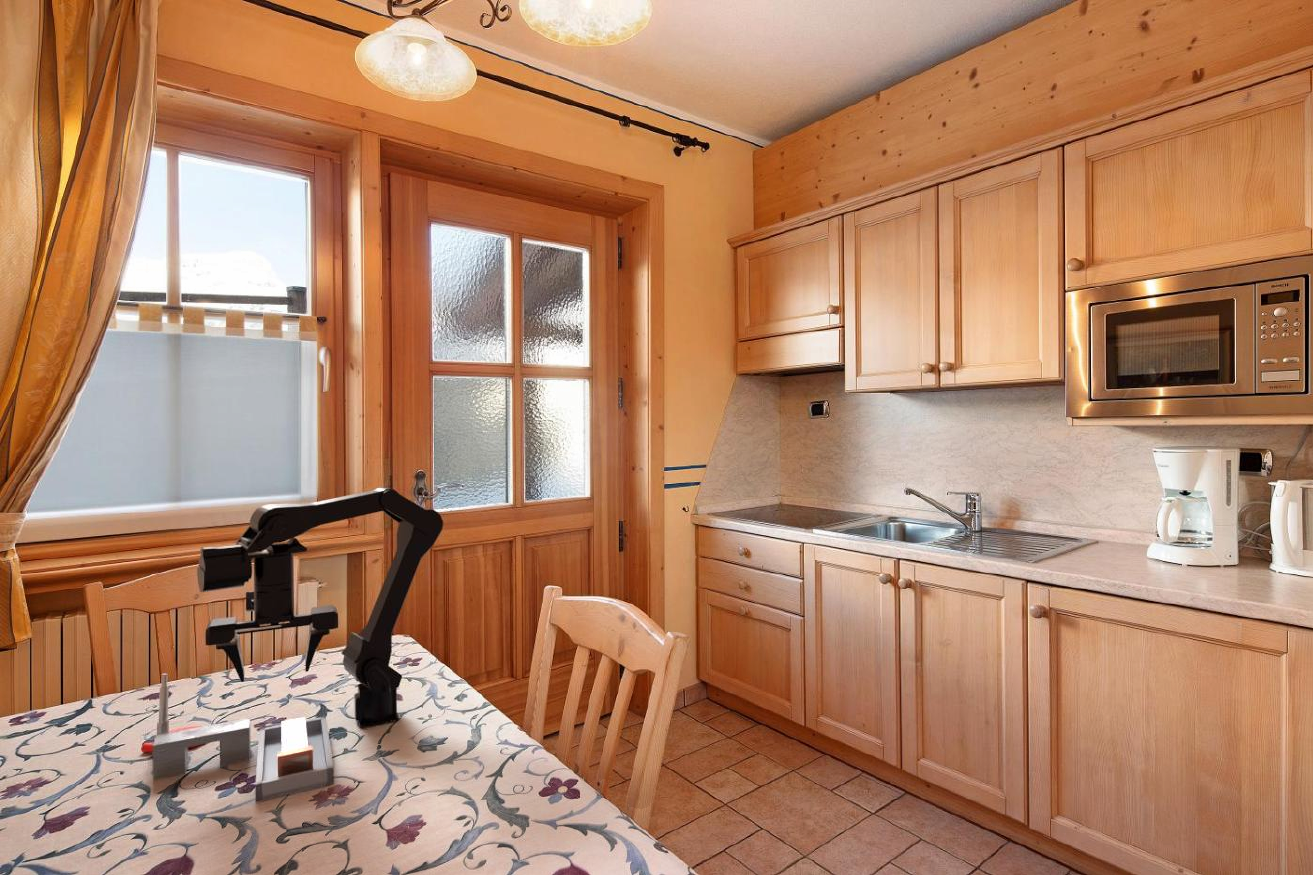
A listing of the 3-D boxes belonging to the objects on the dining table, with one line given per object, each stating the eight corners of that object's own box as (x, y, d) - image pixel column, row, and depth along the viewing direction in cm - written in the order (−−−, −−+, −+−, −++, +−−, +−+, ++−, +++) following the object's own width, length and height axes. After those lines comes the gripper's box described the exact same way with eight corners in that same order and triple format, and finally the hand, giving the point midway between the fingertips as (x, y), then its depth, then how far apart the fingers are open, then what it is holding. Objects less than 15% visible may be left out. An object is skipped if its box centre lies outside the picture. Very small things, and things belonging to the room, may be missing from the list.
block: (250, 749, 112) (250, 717, 112) (249, 759, 109) (249, 727, 108) (157, 767, 106) (156, 734, 106) (153, 779, 103) (152, 745, 102)
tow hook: (183, 730, 120) (135, 753, 111) (185, 657, 120) (137, 673, 111) (225, 734, 119) (180, 758, 109) (227, 660, 119) (183, 677, 110)
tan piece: (278, 742, 113) (277, 717, 113) (309, 736, 115) (308, 712, 115) (278, 785, 100) (277, 756, 100) (313, 777, 102) (312, 749, 102)
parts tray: (326, 730, 119) (325, 716, 119) (333, 783, 101) (333, 767, 101) (259, 743, 114) (259, 728, 114) (255, 802, 96) (255, 784, 96)
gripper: (333, 566, 123) (334, 652, 124) (211, 578, 114) (212, 670, 115) (338, 579, 114) (339, 671, 114) (204, 592, 105) (206, 693, 105)
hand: (275, 675), depth 112 cm, fingers open, 9 cm apart
